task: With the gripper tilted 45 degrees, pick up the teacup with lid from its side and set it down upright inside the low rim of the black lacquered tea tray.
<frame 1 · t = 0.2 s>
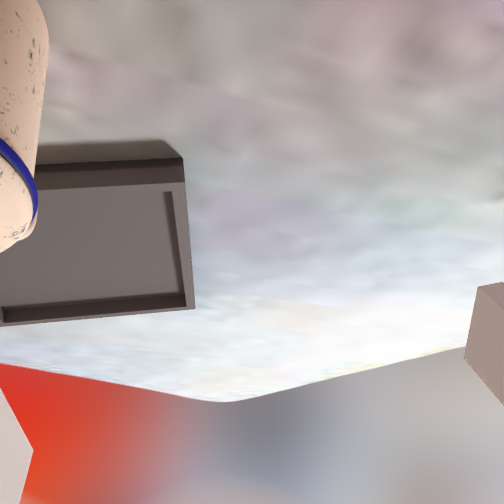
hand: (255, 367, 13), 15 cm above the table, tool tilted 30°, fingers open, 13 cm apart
tea tray: (72, 249, 35), on the table
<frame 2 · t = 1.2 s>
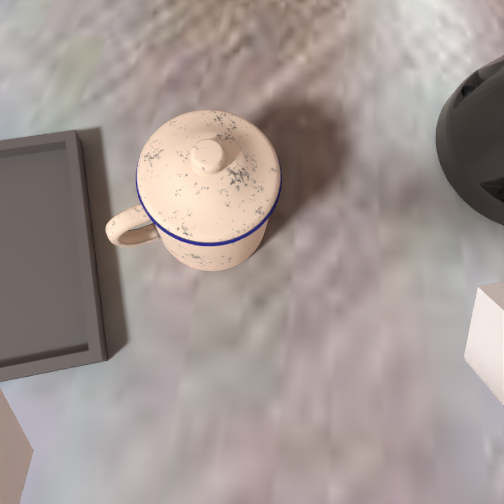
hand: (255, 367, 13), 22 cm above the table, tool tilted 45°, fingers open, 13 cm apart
teacup with lid: (196, 227, 37), on the table
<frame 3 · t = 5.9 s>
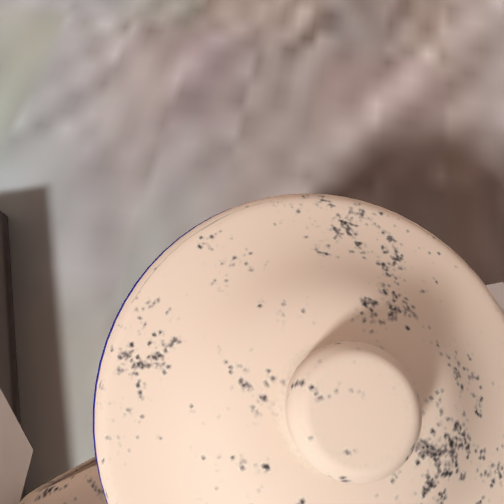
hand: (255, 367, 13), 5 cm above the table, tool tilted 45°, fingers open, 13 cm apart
teacup with lid: (238, 402, 18), on the table, touching gripper
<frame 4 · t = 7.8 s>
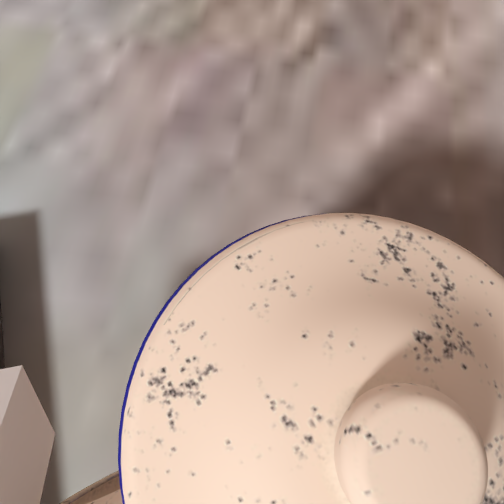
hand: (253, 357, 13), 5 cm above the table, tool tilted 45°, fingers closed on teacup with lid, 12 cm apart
teacup with lid: (256, 419, 17), on the table, touching gripper
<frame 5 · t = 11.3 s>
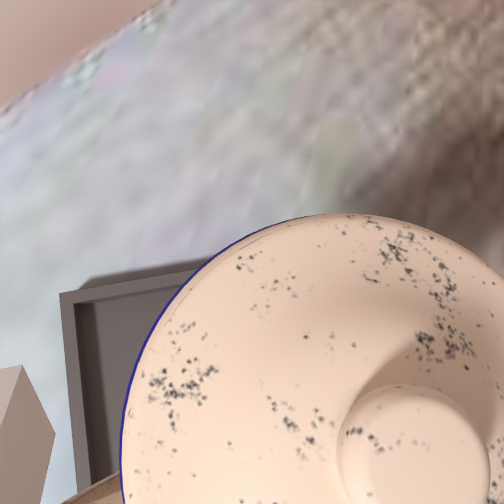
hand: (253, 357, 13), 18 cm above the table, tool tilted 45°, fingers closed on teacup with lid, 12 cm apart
teacup with lid: (257, 420, 17), point 13 cm above the table, touching gripper
tea tray: (238, 404, 30), on the table
when the fingers open (6 cm above the table, at t = 15.2 s): teacup with lid stays where it is, resting on tea tray.
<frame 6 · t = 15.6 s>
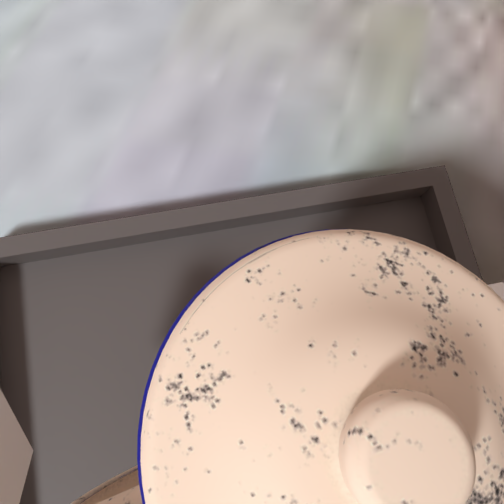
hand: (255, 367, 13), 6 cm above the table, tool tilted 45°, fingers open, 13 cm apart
teacup with lid: (259, 420, 18), resting on tea tray
tea tray: (256, 428, 18), on the table
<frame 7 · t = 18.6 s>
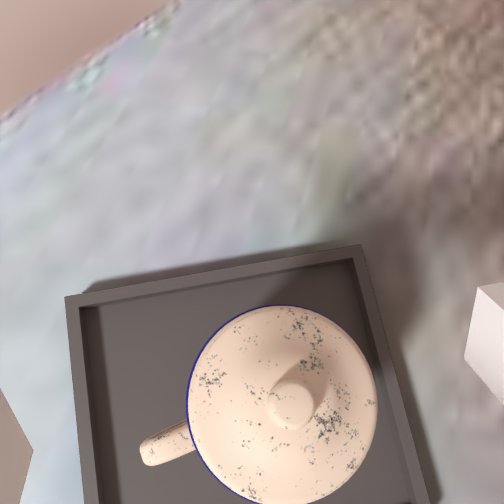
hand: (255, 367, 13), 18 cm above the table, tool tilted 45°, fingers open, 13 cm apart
teacup with lid: (244, 401, 30), resting on tea tray
tea tray: (242, 407, 30), on the table
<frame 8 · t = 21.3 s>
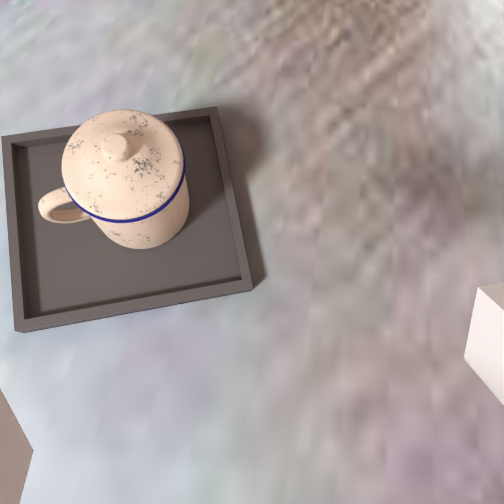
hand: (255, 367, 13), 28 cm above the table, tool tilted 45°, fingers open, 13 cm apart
teacup with lid: (128, 211, 42), resting on tea tray
tea tray: (127, 216, 42), on the table
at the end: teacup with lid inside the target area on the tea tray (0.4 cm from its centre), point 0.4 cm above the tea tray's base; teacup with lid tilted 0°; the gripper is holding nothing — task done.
